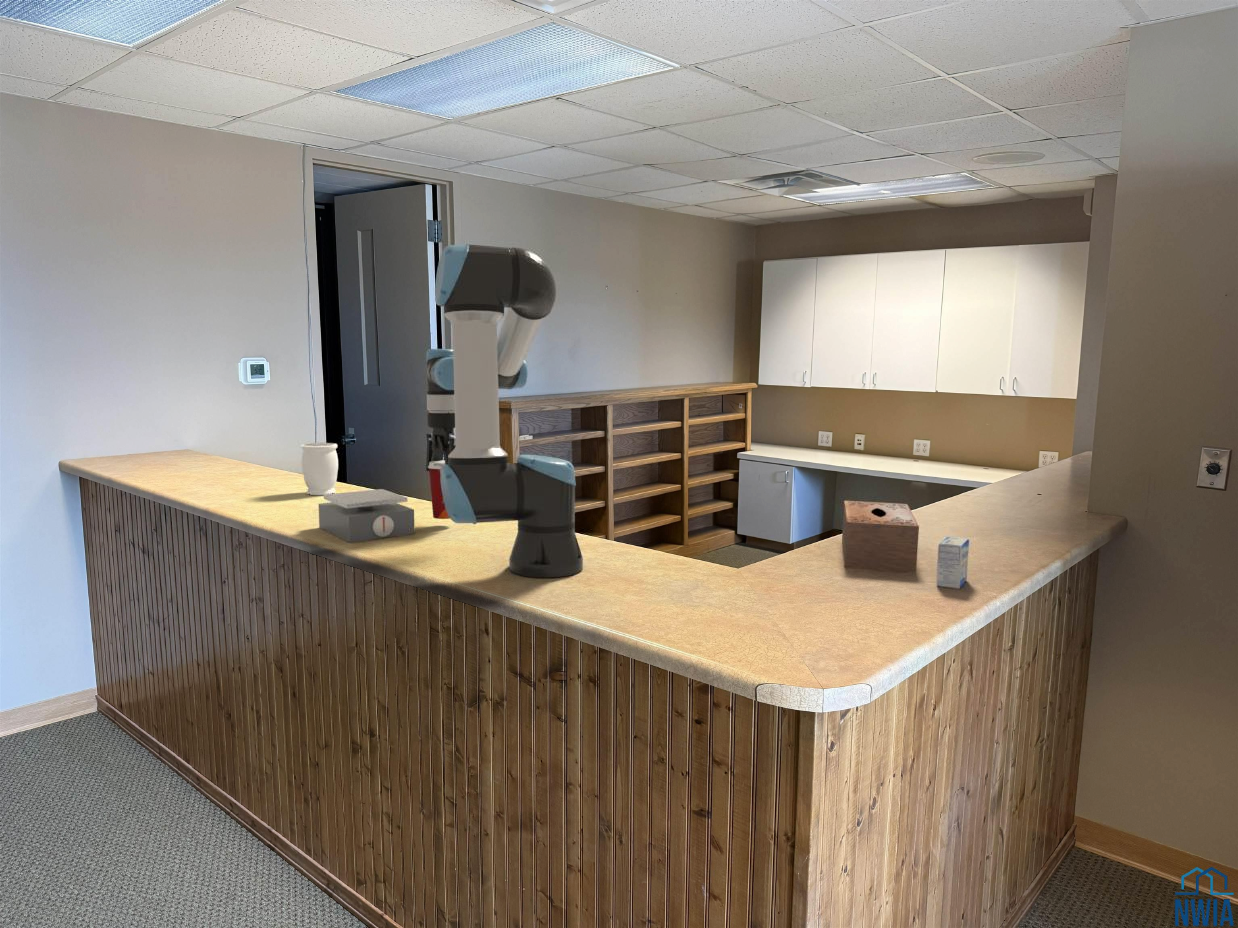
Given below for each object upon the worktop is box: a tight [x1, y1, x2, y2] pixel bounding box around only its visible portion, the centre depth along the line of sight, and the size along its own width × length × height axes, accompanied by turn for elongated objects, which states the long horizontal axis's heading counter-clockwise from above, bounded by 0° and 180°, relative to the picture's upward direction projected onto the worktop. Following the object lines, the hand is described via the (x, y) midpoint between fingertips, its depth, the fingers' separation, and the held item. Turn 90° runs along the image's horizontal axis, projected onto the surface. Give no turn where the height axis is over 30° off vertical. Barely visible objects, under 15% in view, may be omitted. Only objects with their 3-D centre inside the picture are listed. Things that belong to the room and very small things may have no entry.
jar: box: [300, 442, 339, 496], centre depth 254 cm, size 11×10×15 cm
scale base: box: [318, 501, 416, 544], centre depth 205 cm, size 21×16×6 cm
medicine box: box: [935, 536, 970, 590], centre depth 166 cm, size 8×4×9 cm, turn 148°
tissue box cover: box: [841, 500, 920, 573], centre depth 188 cm, size 26×14×10 cm, turn 166°
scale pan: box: [323, 488, 409, 508], centre depth 204 cm, size 15×15×2 cm
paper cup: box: [428, 459, 451, 520], centre depth 210 cm, size 8×8×14 cm
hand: (444, 502), depth 211 cm, fingers closed on paper cup, 8 cm apart
